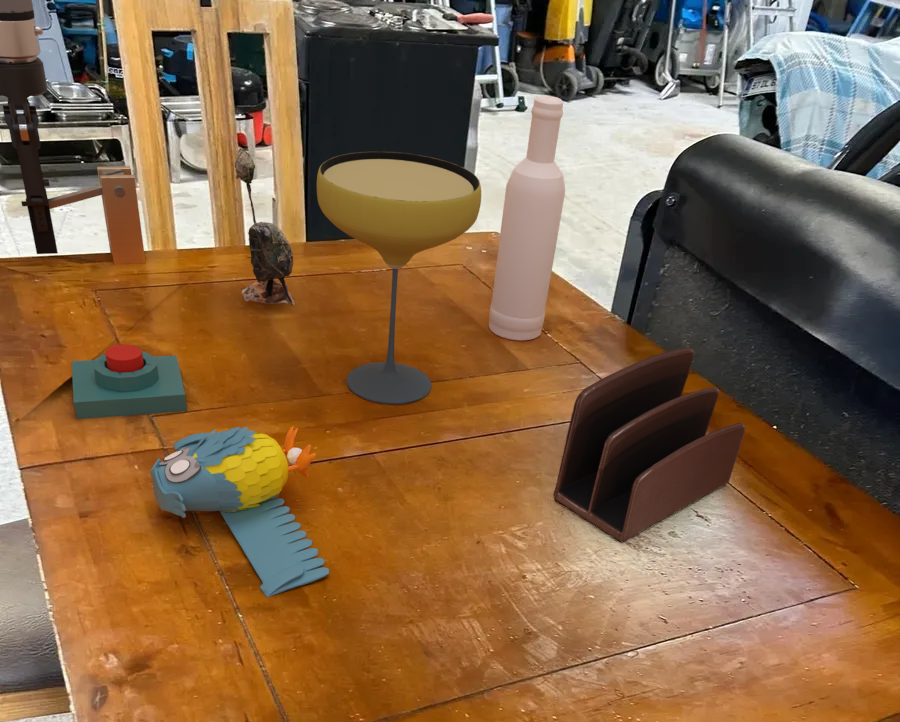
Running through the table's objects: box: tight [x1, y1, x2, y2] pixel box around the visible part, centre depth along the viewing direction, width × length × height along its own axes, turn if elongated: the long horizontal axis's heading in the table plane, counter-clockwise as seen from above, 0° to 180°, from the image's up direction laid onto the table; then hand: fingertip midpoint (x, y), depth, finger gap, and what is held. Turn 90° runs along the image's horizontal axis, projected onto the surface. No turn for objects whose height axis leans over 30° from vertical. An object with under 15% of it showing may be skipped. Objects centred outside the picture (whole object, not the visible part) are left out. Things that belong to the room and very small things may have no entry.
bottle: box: [488, 94, 566, 342], centre depth 119 cm, size 8×8×30 cm
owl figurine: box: [150, 425, 330, 598], centre depth 87 cm, size 28×9×15 cm
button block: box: [71, 351, 188, 420], centre depth 103 cm, size 12×10×4 cm
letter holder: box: [553, 347, 746, 543], centre depth 95 cm, size 10×20×14 cm, turn 132°
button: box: [104, 344, 144, 373], centre depth 102 cm, size 4×4×2 cm
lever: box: [48, 172, 124, 210], centre depth 123 cm, size 13×6×2 cm, turn 112°
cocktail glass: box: [316, 151, 482, 405], centre depth 105 cm, size 18×18×25 cm
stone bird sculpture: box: [234, 150, 296, 309], centre depth 121 cm, size 8×11×20 cm
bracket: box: [96, 165, 146, 266], centre depth 127 cm, size 12×9×14 cm
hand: (45, 244), depth 125 cm, fingers closed on lever, 5 cm apart
